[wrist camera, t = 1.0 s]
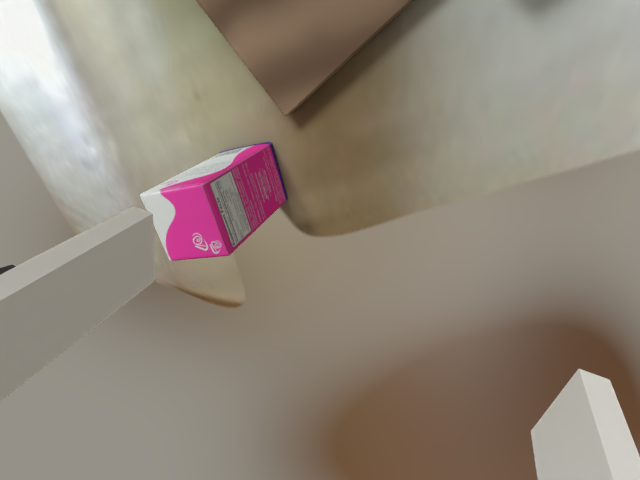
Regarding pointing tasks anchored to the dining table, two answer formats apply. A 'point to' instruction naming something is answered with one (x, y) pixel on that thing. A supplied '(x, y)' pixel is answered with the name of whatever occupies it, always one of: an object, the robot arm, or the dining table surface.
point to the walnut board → (298, 39)
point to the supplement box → (216, 202)
